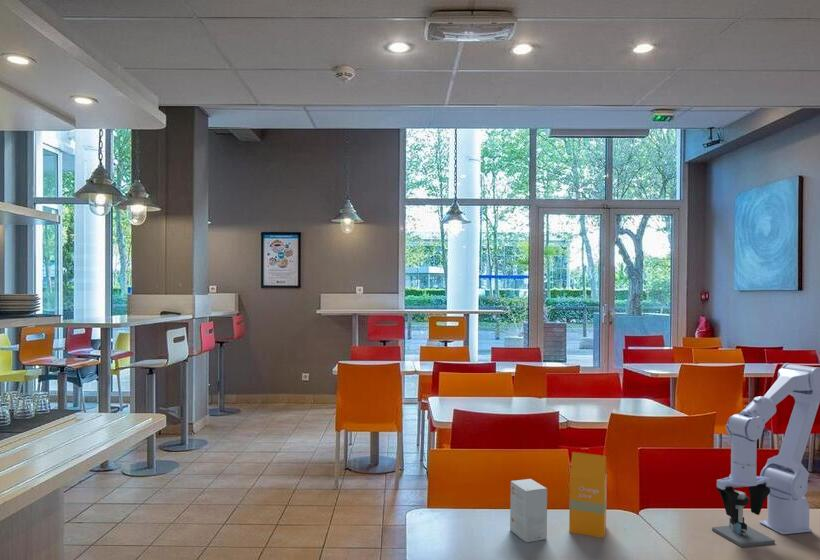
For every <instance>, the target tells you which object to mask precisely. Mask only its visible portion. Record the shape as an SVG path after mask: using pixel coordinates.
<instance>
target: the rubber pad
mask: <svg viewBox="0 0 820 560" xmlns="http://www.w3.org/2000/svg"><path fill="white" fill-rule="evenodd" d="M711 530H712V531H713V532H715V533H716V534H718V535H719V536H721V537H723V538H724V539H727V541H730V542H732V543H733V544H735V545H737V546H738V547H740V548H743V547H745V548H747V547H753V546H754V547H755V546H762V545H763V546H764V545H765V546H766V545H772V544H773V545H774V544H775V542H776V541H775V539H773V538H771V537H770V536H768V535H766V534H764V533H763V532H760V531H758V530H756V529H754V528H752V527H751V526H749V525H747V532H745V533H746V534H747V535H748V536H744V535H743V534H737V533H736V532H735V531H732V530H731V528H730V527H729V525H722V526H713V527H711Z"/></svg>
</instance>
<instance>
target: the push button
mask: <svg viewBox="0 0 820 560" xmlns="http://www.w3.org/2000/svg"><path fill="white" fill-rule="evenodd" d="M734 491H735V492H737V493H739V496H738V498H737V501H736V510H735V517H729V525H728V526H729V527H730V528H731V530H732V531H735V532H736V533H737V534H743V535H744V536H748V535H747V534H746V533H745V532H747V526H748V524H747V523H745V517H744V507H746V506H748V505H749V502H750V496H748V495H747V494H746V492H745V491H744V492H743V491H740V490H737V489H734Z"/></svg>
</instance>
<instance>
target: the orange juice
mask: <svg viewBox="0 0 820 560" xmlns="http://www.w3.org/2000/svg"><path fill="white" fill-rule="evenodd" d="M570 461H571V462H570V475H569V499H568V501H569V502H568V503H569V505H568V508H569V509H568V510H569V516H568V517H569V521H568V522H569V524H568V527H569V529H568V530H569V531H568V532H569V533H571V534H572V533H574V534H577V535H578V534H579V535H584V536H585V535H586V536H590V537H591V536H592V537H597V538H605V534H606V528H607V499H608V498H607V482H608V481H607V480H608V479H607V478H608V477H607V475H608V473H607V472H608V471H607V456H606V455H603V454H594V453H588V452H587V453H585V452H576V451H572V452H571V460H570Z"/></svg>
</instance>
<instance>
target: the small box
mask: <svg viewBox="0 0 820 560" xmlns="http://www.w3.org/2000/svg"><path fill="white" fill-rule="evenodd" d="M509 503H510V504H509V505H510V506H509V507H510V509H509V510H510V511H509V512H510V513H509V514H510V515H509V518H510V519H509V531H511V532H512V533H513V534H514V535H516V536H517V537H518V538H519V539H520V540H522V541H523V542H524V543H532V542H537V541H542V540H543V541H544V540H546V539H548V488H547V487H546V486H543V485H542V484H541V483H539V482H537V481H535V480H534V479H532V478H526V479H517V480H511V481H510V502H509Z"/></svg>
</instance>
